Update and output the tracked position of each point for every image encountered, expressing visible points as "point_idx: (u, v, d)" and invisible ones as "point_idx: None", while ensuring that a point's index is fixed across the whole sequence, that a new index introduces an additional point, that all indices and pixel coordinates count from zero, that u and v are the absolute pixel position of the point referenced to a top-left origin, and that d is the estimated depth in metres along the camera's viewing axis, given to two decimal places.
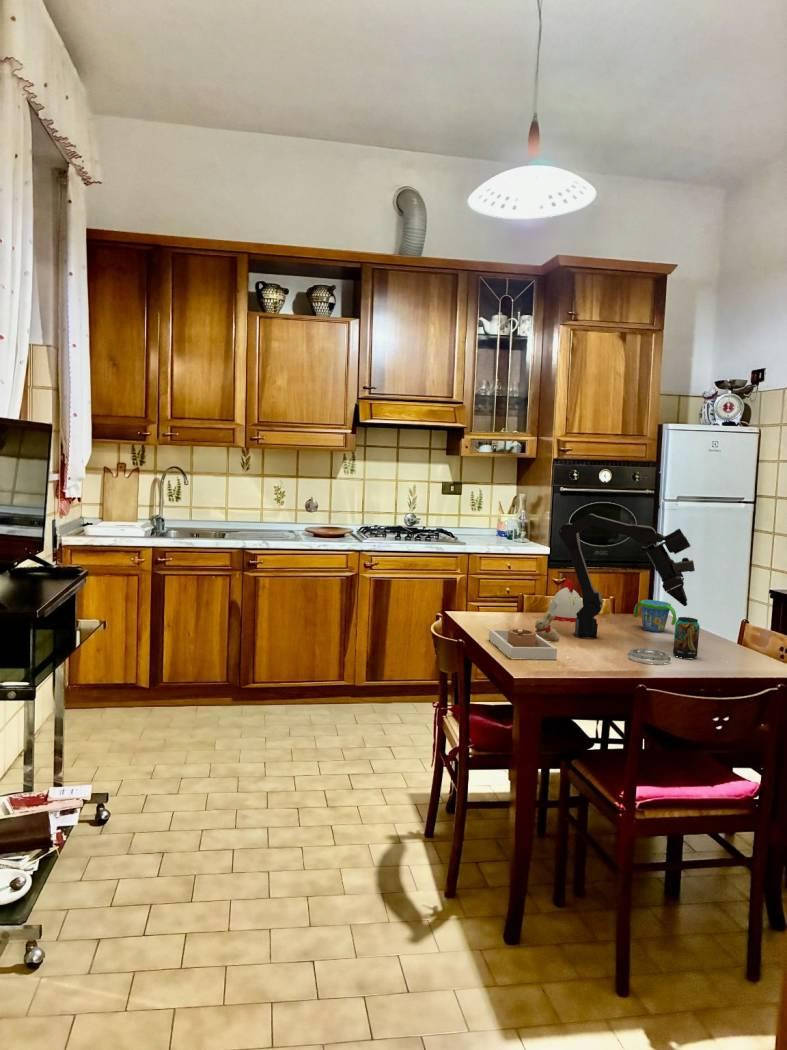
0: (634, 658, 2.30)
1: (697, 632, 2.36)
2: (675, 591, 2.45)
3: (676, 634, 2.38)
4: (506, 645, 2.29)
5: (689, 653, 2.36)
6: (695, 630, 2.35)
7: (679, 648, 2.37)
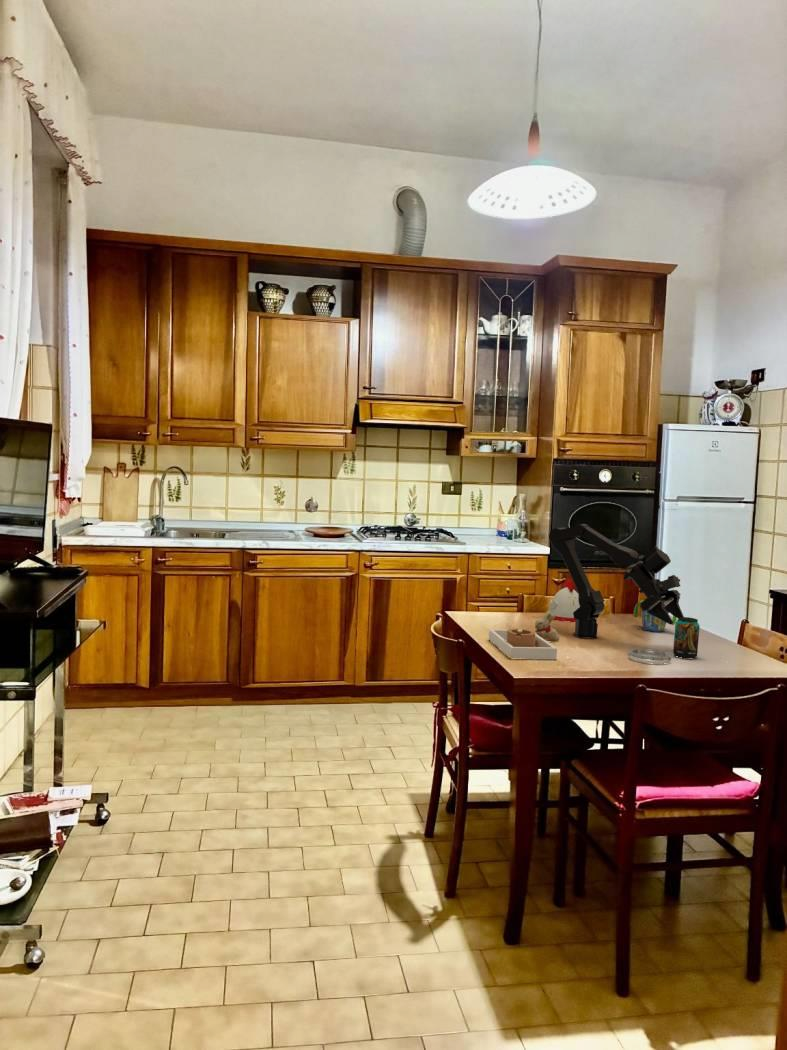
0: (634, 658, 2.30)
1: (697, 632, 2.36)
2: (657, 610, 2.39)
3: (676, 634, 2.38)
4: (506, 645, 2.29)
5: (689, 653, 2.36)
6: (695, 630, 2.35)
7: (679, 648, 2.37)
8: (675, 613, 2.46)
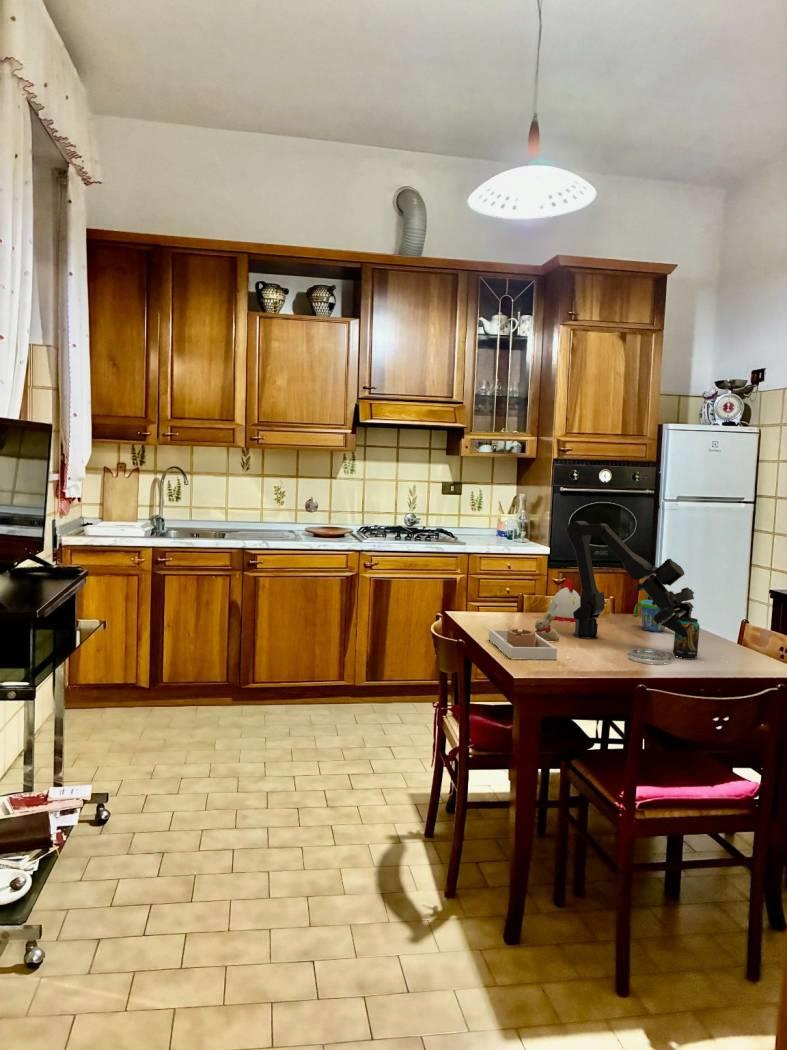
0: (634, 658, 2.30)
1: (697, 632, 2.36)
2: (671, 623, 2.37)
3: (676, 634, 2.38)
4: (506, 645, 2.29)
5: (689, 653, 2.36)
6: (695, 630, 2.35)
7: (679, 648, 2.37)
8: None
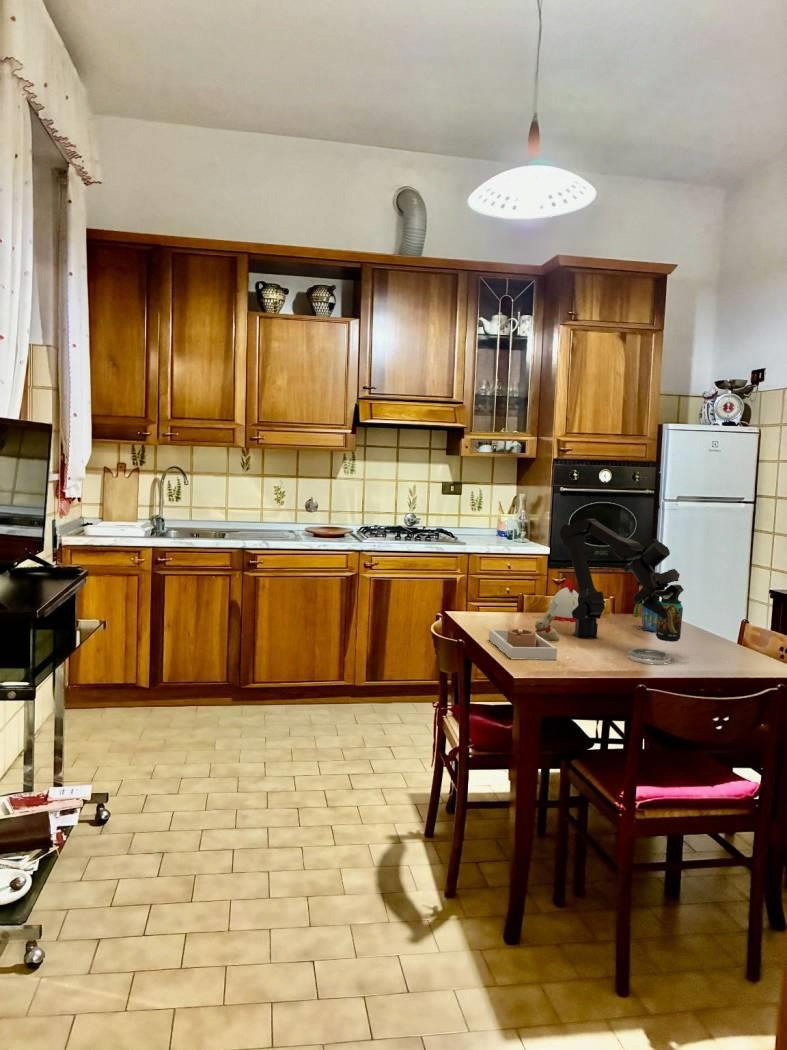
0: (634, 658, 2.30)
1: (679, 614, 2.31)
2: (652, 604, 2.33)
3: (658, 615, 2.34)
4: (506, 645, 2.29)
5: (669, 635, 2.31)
6: (676, 612, 2.31)
7: (660, 630, 2.33)
8: None
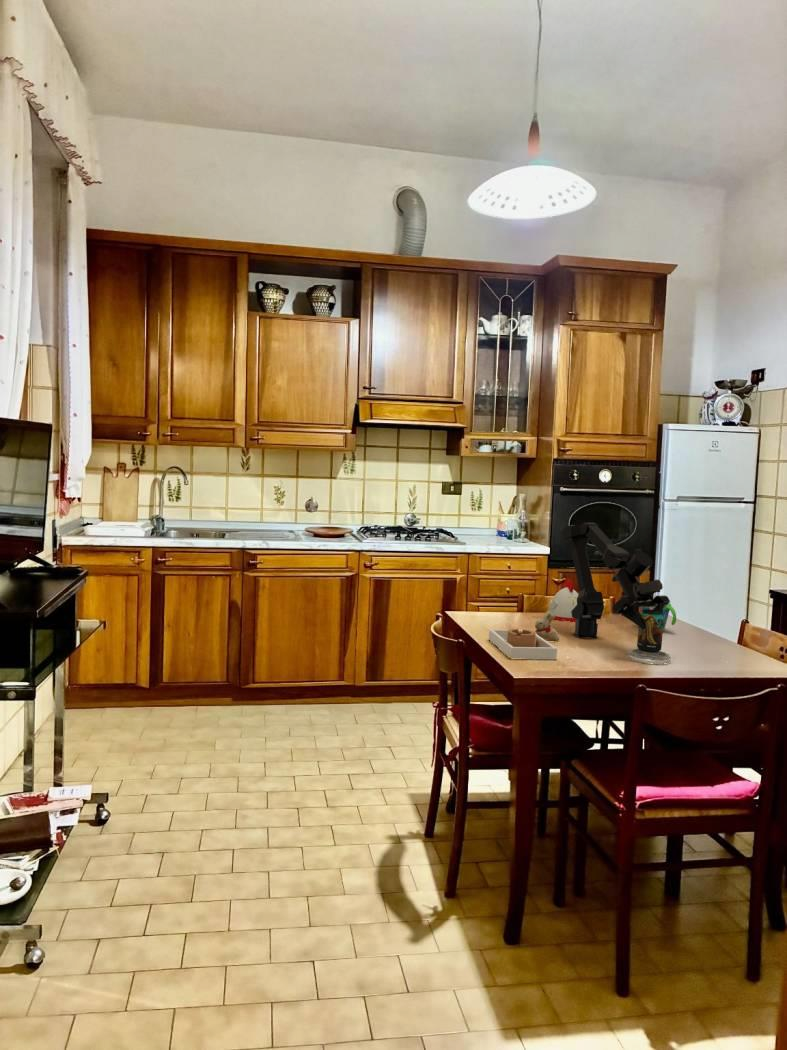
0: (634, 658, 2.30)
1: (658, 625, 2.29)
2: (632, 614, 2.33)
3: None
4: (506, 645, 2.29)
5: (648, 646, 2.30)
6: (654, 623, 2.29)
7: (639, 640, 2.32)
8: None
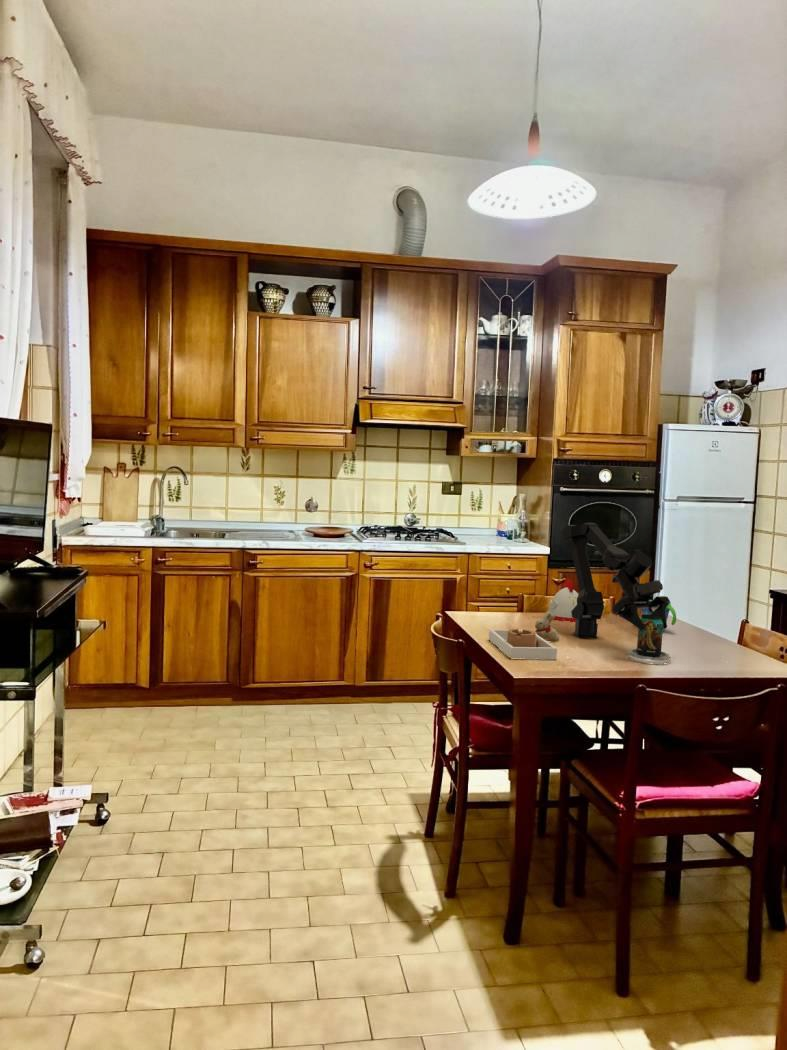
0: (634, 658, 2.30)
1: (657, 630, 2.29)
2: (630, 615, 2.32)
3: (638, 631, 2.33)
4: (506, 645, 2.29)
5: (648, 651, 2.30)
6: (654, 628, 2.29)
7: (639, 645, 2.32)
8: None
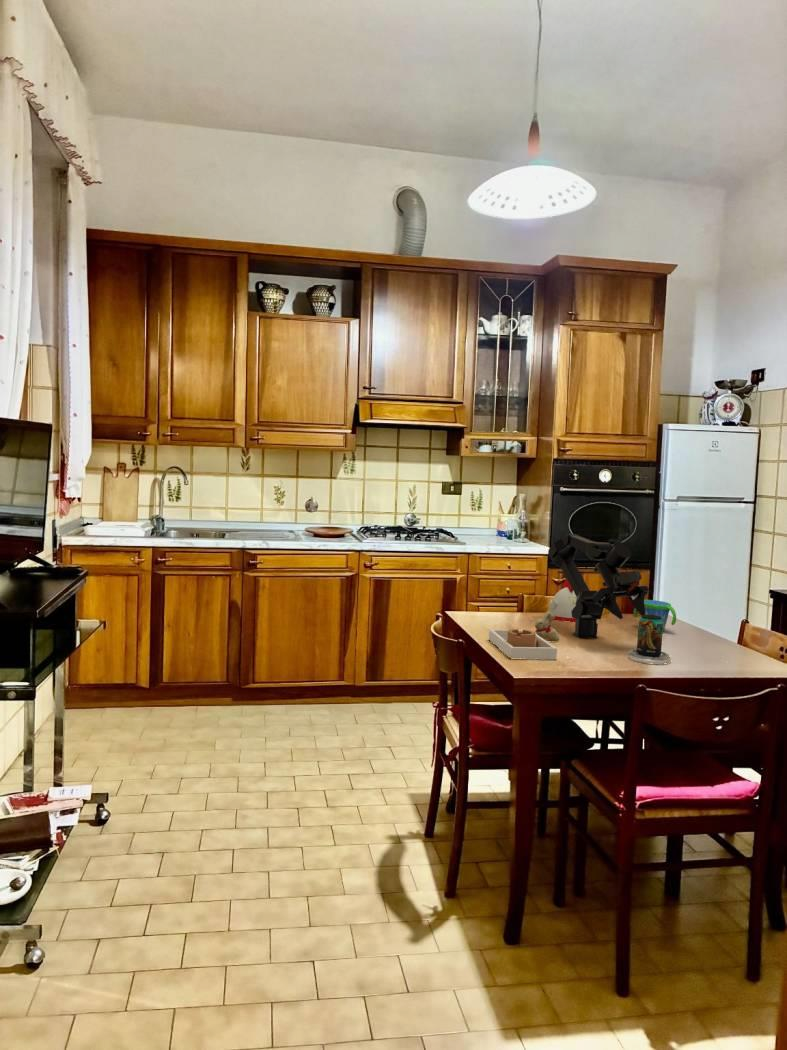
0: (634, 658, 2.30)
1: (657, 630, 2.29)
2: (609, 604, 2.41)
3: (638, 631, 2.33)
4: (506, 645, 2.29)
5: (648, 651, 2.30)
6: (654, 628, 2.29)
7: (639, 645, 2.32)
8: (638, 608, 2.44)
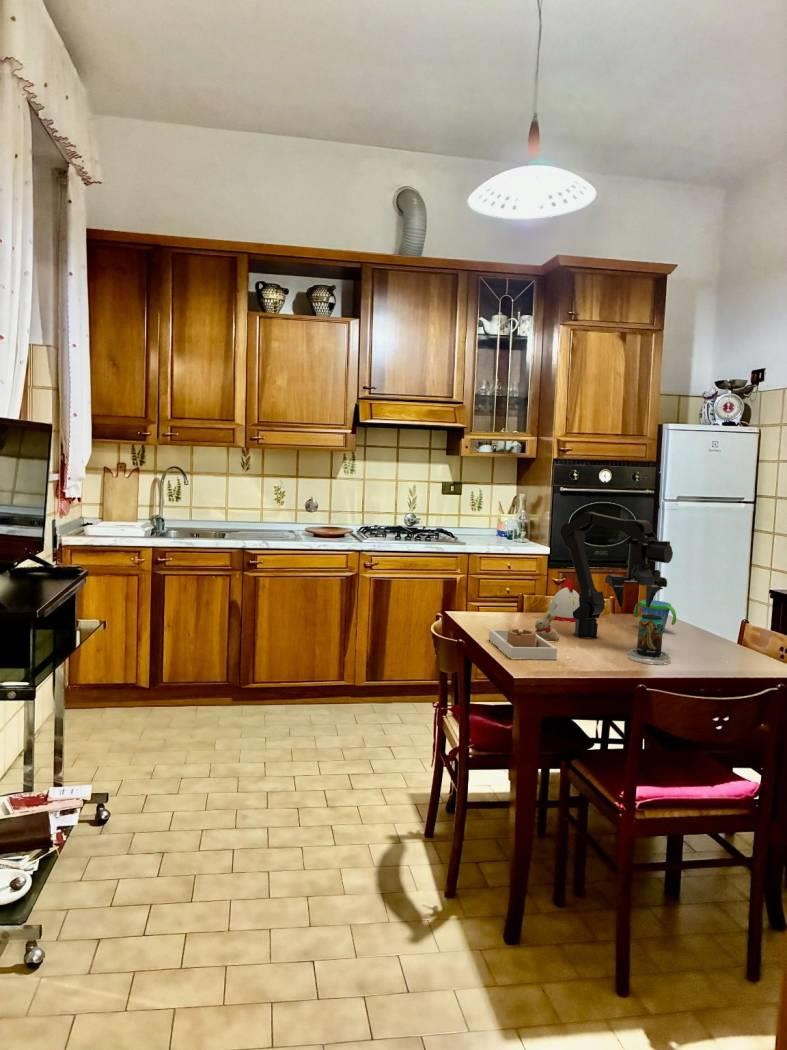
0: (634, 658, 2.30)
1: (657, 630, 2.29)
2: (617, 589, 2.48)
3: (638, 631, 2.33)
4: (506, 645, 2.29)
5: (648, 651, 2.30)
6: (654, 628, 2.29)
7: (639, 645, 2.32)
8: (647, 597, 2.49)
